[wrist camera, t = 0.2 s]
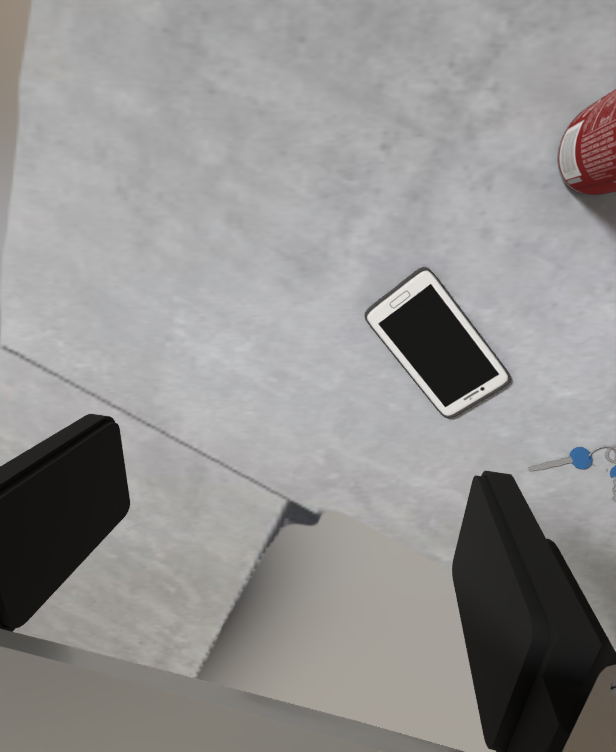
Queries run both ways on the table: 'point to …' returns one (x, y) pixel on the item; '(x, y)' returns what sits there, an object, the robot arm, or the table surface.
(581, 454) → the key chain
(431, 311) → the cell phone
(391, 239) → the table surface
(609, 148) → the soda can
